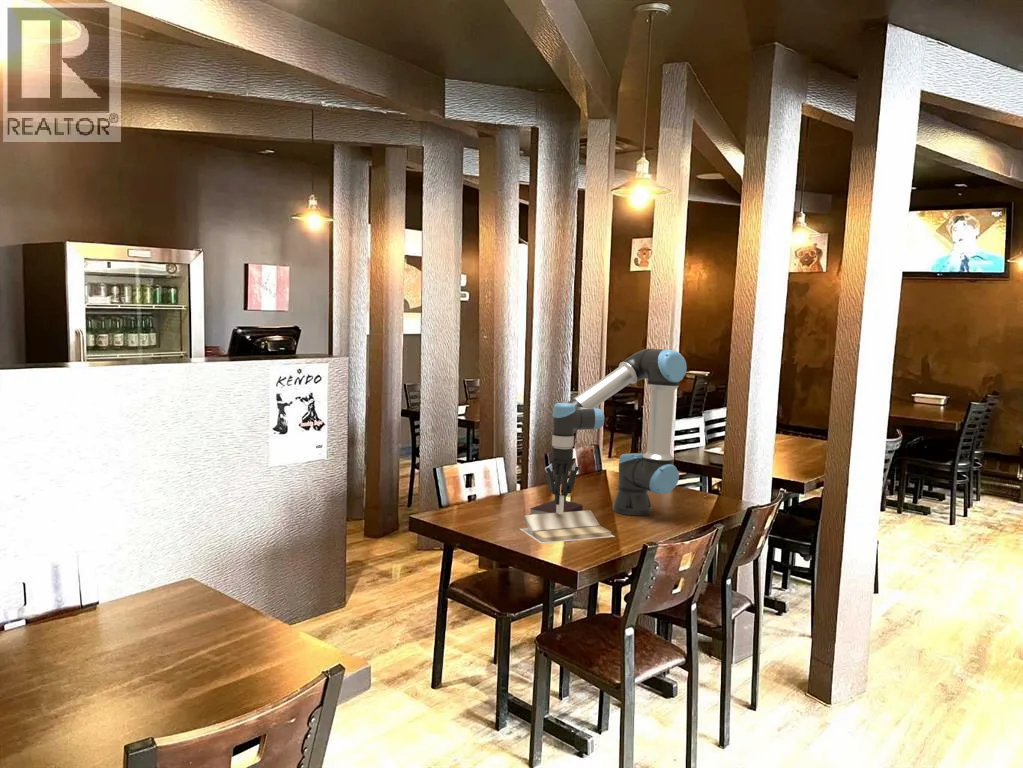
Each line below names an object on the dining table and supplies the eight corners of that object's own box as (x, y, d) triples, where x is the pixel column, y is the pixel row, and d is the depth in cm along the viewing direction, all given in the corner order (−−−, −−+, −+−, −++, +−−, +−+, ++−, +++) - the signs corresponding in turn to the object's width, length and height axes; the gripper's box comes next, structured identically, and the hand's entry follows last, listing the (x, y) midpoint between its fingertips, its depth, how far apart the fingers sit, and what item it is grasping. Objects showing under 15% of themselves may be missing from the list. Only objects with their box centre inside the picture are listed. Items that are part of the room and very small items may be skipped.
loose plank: (589, 513, 273) (590, 510, 272) (598, 528, 266) (599, 525, 266) (523, 518, 263) (524, 515, 262) (531, 534, 256) (532, 530, 256)
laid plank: (600, 530, 265) (600, 526, 265) (611, 536, 258) (611, 531, 258) (533, 536, 255) (533, 531, 255) (542, 542, 248) (542, 537, 248)
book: (582, 512, 297) (583, 503, 297) (556, 521, 281) (557, 512, 281) (556, 506, 304) (556, 498, 304) (529, 515, 288) (529, 507, 288)
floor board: (589, 525, 274) (590, 523, 274) (614, 539, 258) (615, 536, 258) (519, 531, 264) (519, 528, 264) (540, 546, 247) (540, 543, 247)
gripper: (574, 445, 270) (571, 509, 271) (541, 445, 265) (538, 511, 266) (584, 448, 263) (581, 514, 264) (550, 449, 258) (547, 517, 259)
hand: (559, 513), depth 265 cm, fingers closed
